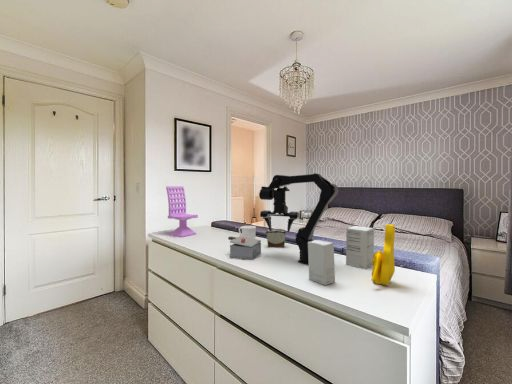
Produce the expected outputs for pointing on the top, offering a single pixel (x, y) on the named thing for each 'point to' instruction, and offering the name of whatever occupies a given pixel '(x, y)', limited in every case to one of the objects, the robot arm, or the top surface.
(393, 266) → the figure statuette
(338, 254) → the top surface
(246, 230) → the mug
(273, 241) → the food container
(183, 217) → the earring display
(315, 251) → the skincare box
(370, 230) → the supplement box
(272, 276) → the top surface
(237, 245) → the grey open box
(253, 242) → the tabbed silver plate
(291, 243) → the top surface
